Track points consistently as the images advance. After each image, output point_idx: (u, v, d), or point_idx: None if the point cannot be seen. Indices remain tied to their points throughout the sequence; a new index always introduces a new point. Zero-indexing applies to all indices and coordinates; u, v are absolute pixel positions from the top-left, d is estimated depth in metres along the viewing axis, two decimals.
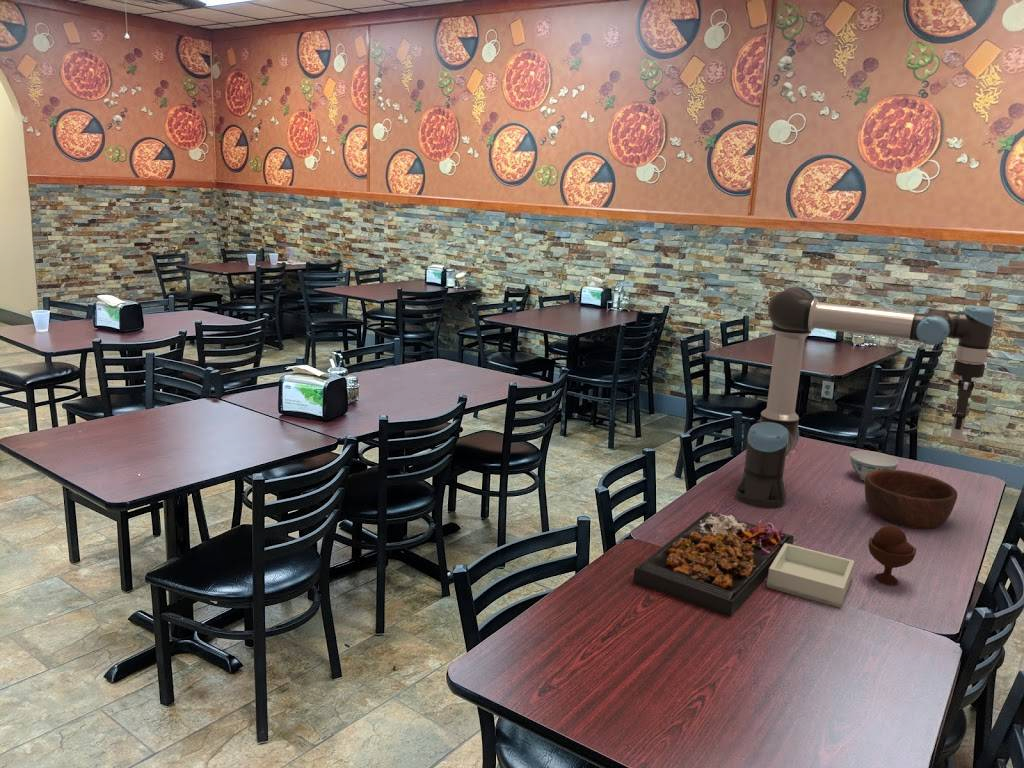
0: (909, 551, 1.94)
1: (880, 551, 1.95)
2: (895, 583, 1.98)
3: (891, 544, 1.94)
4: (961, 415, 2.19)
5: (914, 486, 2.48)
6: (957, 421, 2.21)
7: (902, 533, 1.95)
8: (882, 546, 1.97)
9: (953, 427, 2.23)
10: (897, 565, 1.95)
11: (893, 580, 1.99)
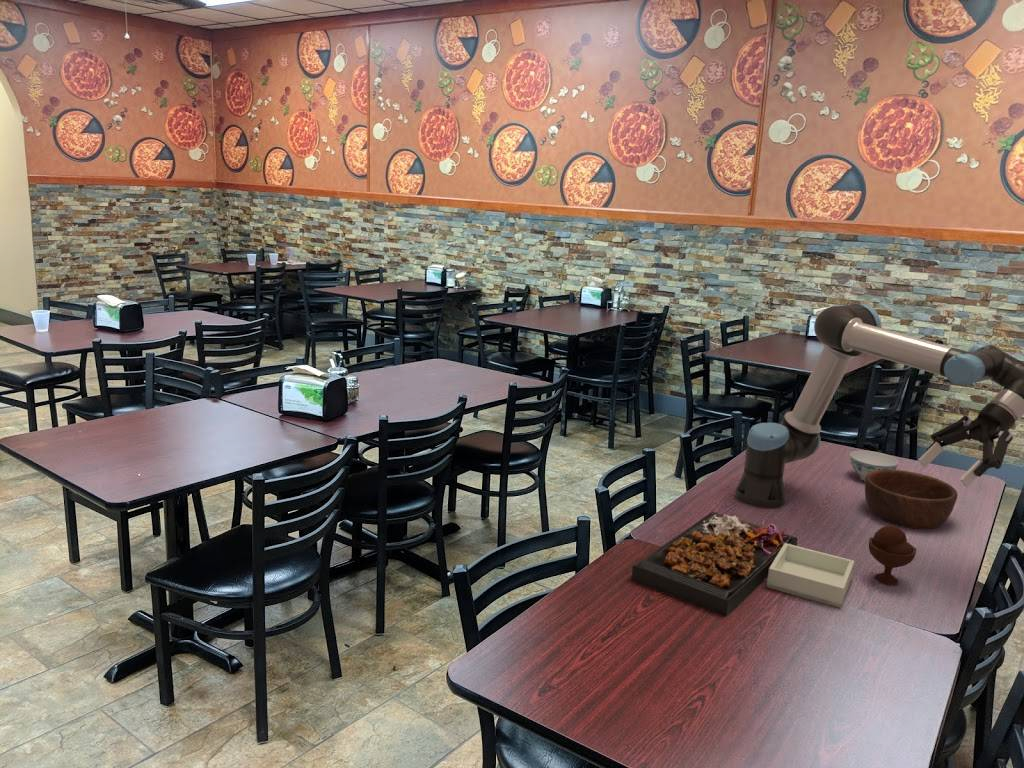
0: (909, 551, 1.94)
1: (880, 551, 1.95)
2: (895, 583, 1.98)
3: (891, 544, 1.94)
4: (998, 465, 1.87)
5: (914, 486, 2.48)
6: (984, 467, 1.89)
7: (902, 533, 1.95)
8: (882, 546, 1.97)
9: (972, 470, 1.90)
10: (897, 565, 1.95)
11: (893, 580, 1.99)
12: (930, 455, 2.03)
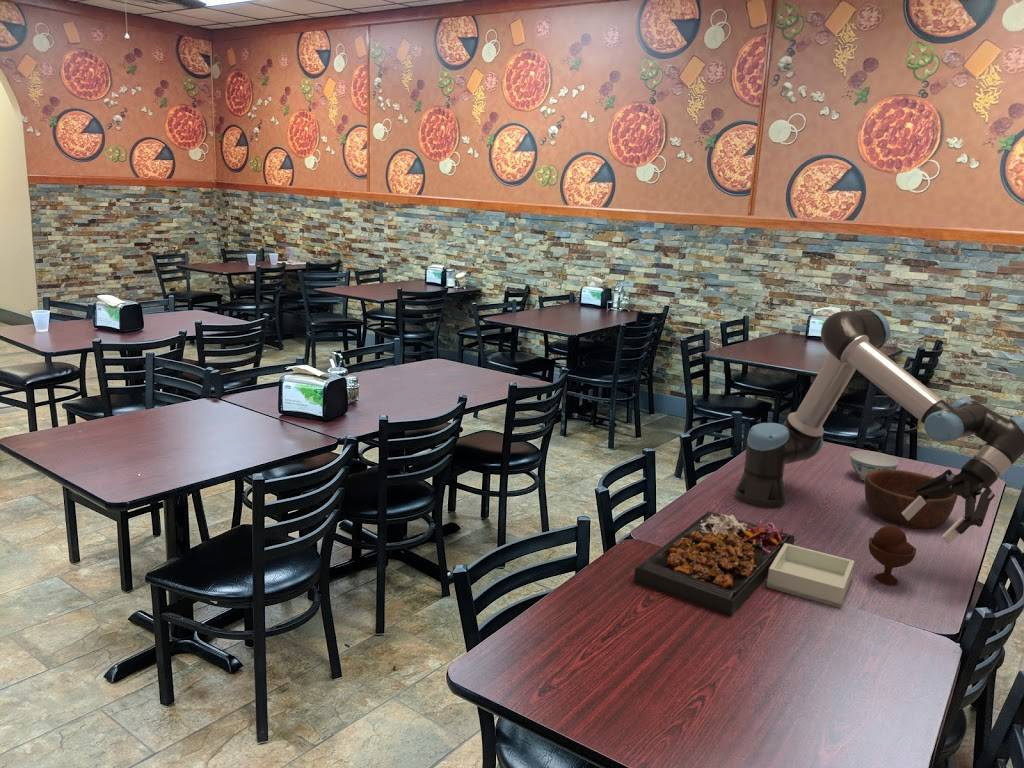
0: (909, 551, 1.94)
1: (880, 551, 1.95)
2: (895, 583, 1.98)
3: (891, 544, 1.94)
4: (980, 523, 1.89)
5: (914, 486, 2.48)
6: (966, 525, 1.90)
7: (902, 533, 1.95)
8: (882, 546, 1.97)
9: (954, 528, 1.91)
10: (897, 565, 1.95)
11: (893, 580, 1.99)
12: (913, 508, 2.04)
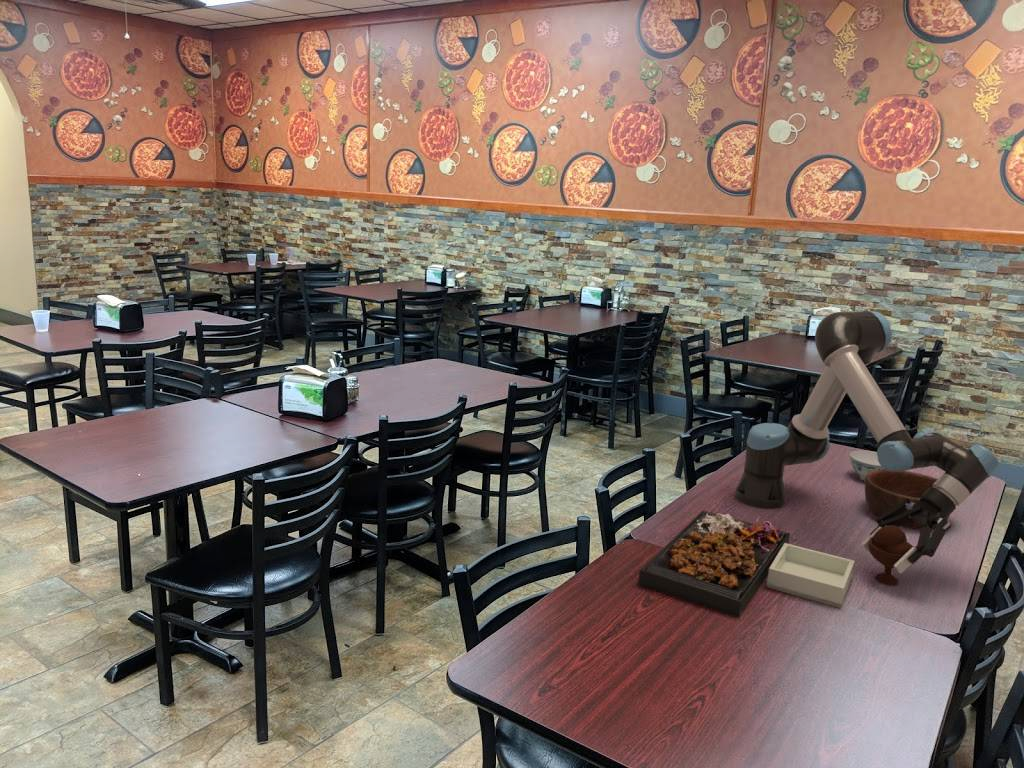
0: None
1: (880, 551, 1.95)
2: (895, 583, 1.98)
3: (891, 544, 1.94)
4: (931, 553, 1.90)
5: (914, 486, 2.48)
6: (917, 555, 1.91)
7: (902, 533, 1.95)
8: (882, 546, 1.97)
9: (906, 557, 1.92)
10: None
11: (893, 580, 1.99)
12: None
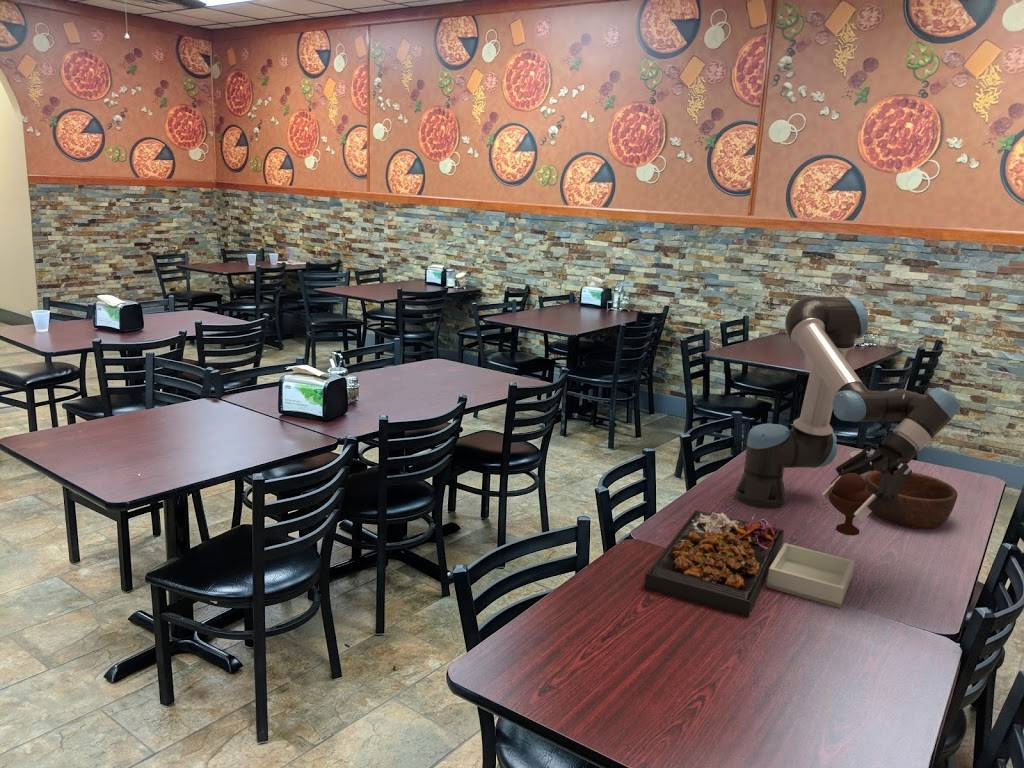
0: None
1: (840, 500, 1.88)
2: (856, 533, 1.91)
3: (851, 492, 1.87)
4: (891, 500, 1.83)
5: (914, 486, 2.48)
6: (878, 502, 1.84)
7: (862, 480, 1.88)
8: (842, 495, 1.90)
9: (866, 505, 1.85)
10: None
11: (854, 530, 1.92)
12: None
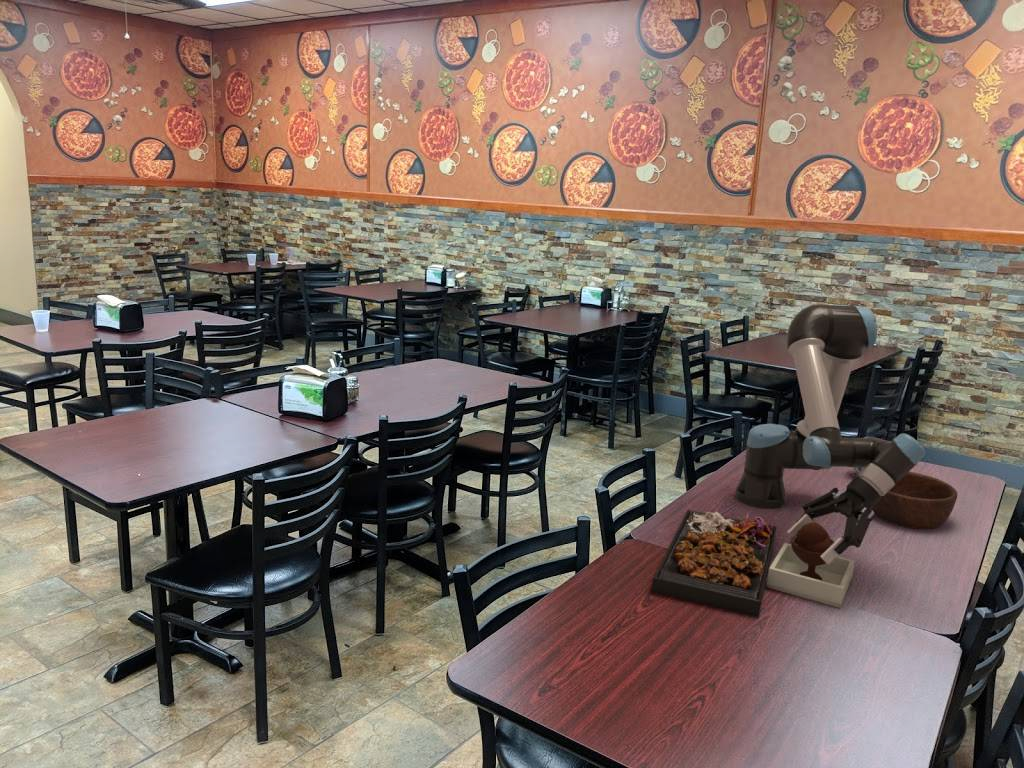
0: None
1: (801, 549, 1.92)
2: None
3: (812, 542, 1.91)
4: (857, 544, 1.85)
5: (914, 486, 2.48)
6: (844, 545, 1.86)
7: (823, 531, 1.91)
8: (804, 544, 1.94)
9: (833, 548, 1.87)
10: (818, 563, 1.92)
11: (816, 578, 1.95)
12: (799, 527, 2.00)
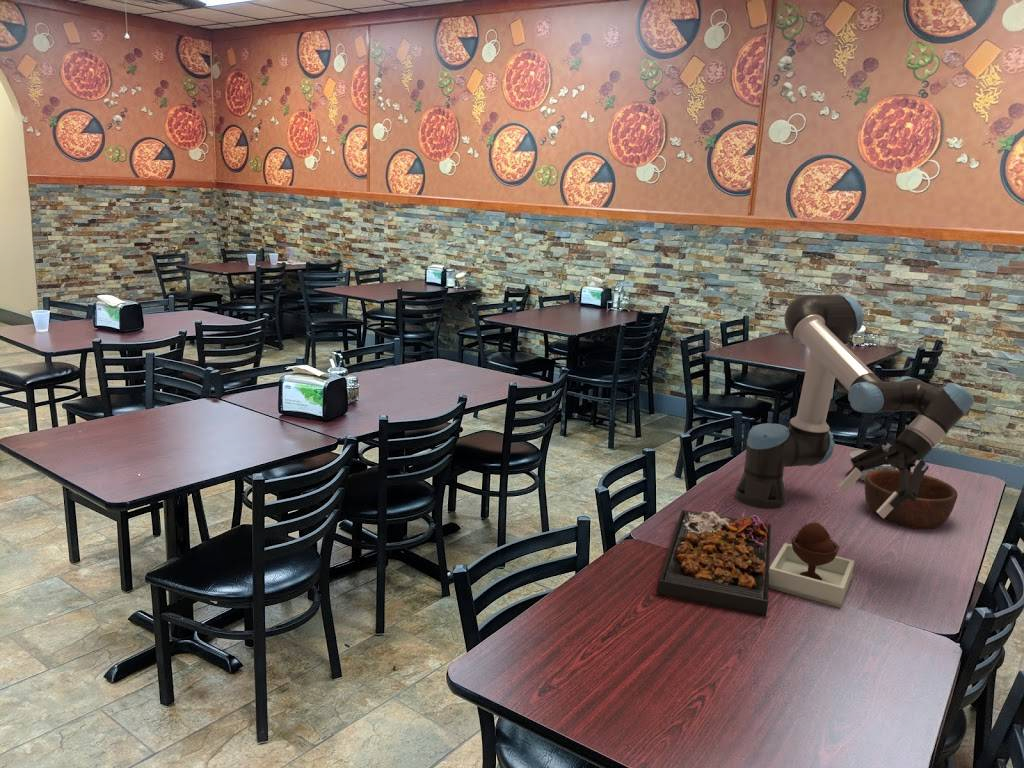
0: (831, 549, 1.91)
1: (802, 549, 1.92)
2: None
3: (813, 542, 1.91)
4: (913, 497, 1.87)
5: None
6: (900, 499, 1.89)
7: (824, 531, 1.91)
8: (805, 544, 1.94)
9: (888, 502, 1.90)
10: (819, 563, 1.92)
11: (816, 578, 1.95)
12: (850, 481, 2.02)
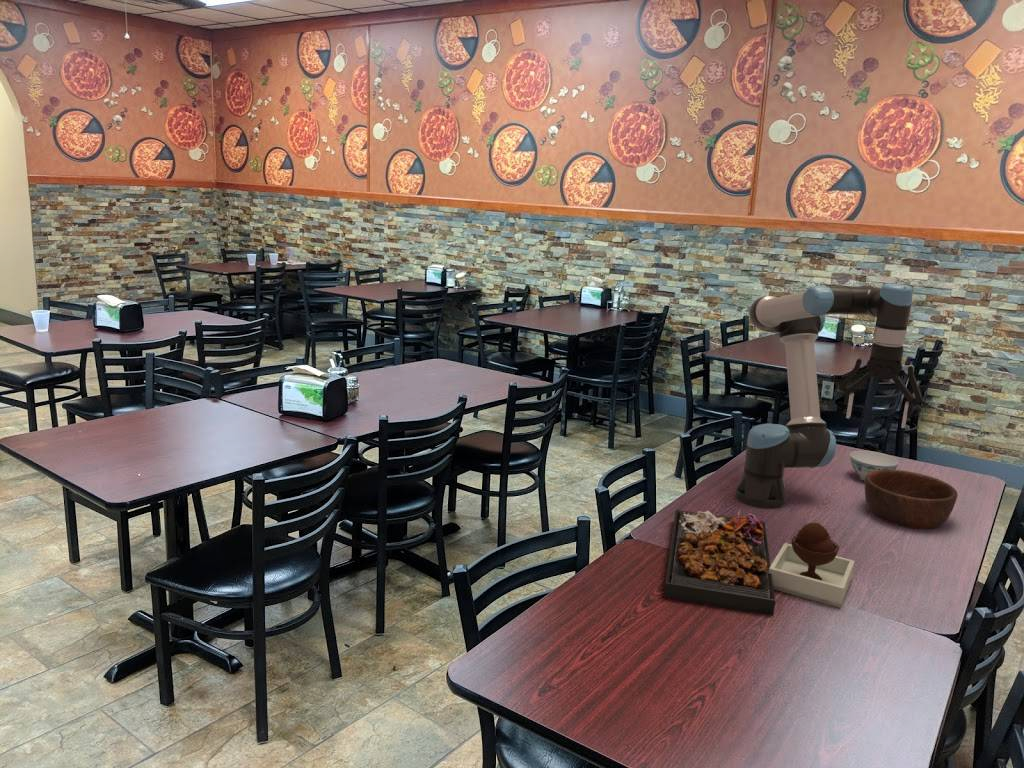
0: (831, 549, 1.91)
1: (802, 549, 1.92)
2: None
3: (813, 542, 1.91)
4: (922, 399, 2.07)
5: (914, 486, 2.48)
6: None
7: (824, 531, 1.92)
8: (805, 544, 1.94)
9: (906, 415, 2.08)
10: (819, 563, 1.92)
11: (816, 578, 1.95)
12: (851, 406, 2.16)
